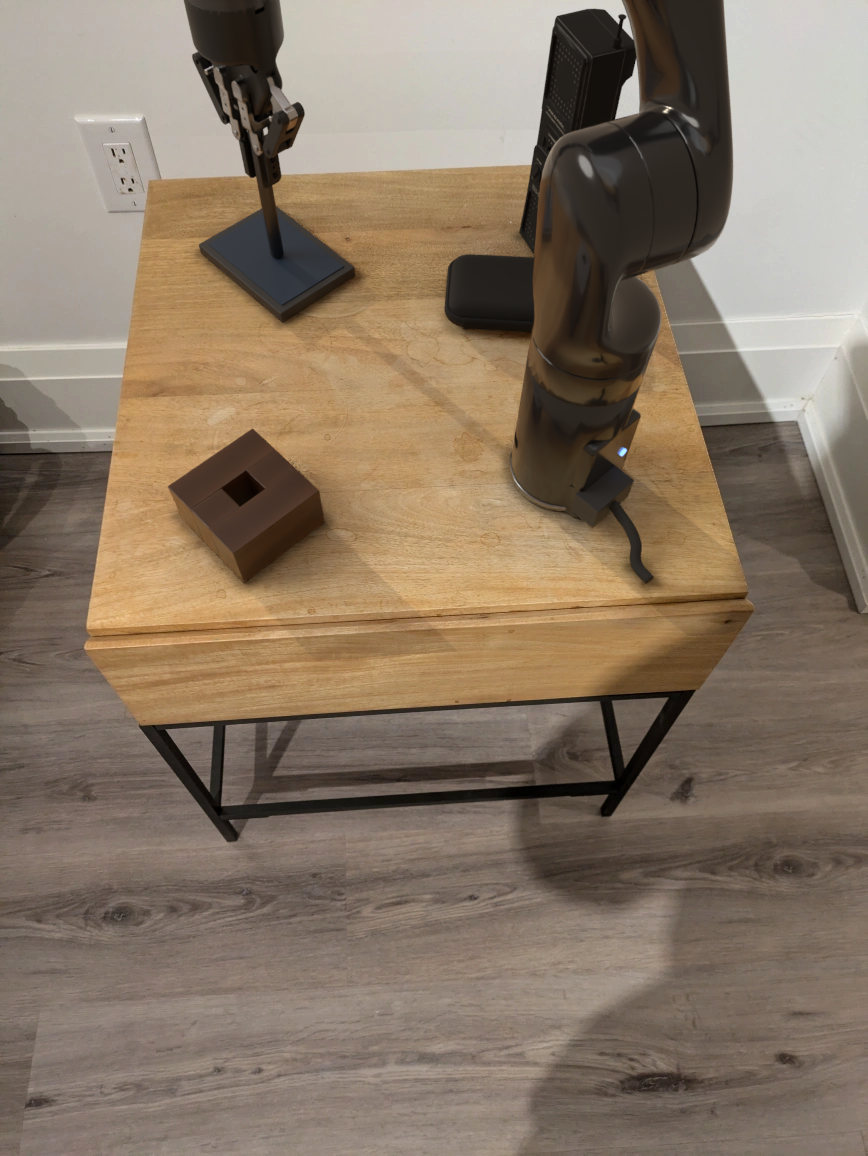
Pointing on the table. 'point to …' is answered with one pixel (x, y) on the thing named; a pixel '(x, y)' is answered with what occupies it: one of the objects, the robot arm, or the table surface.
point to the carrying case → (490, 293)
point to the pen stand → (248, 504)
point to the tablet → (277, 263)
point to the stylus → (269, 214)
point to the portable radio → (577, 88)
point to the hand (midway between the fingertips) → (263, 177)
